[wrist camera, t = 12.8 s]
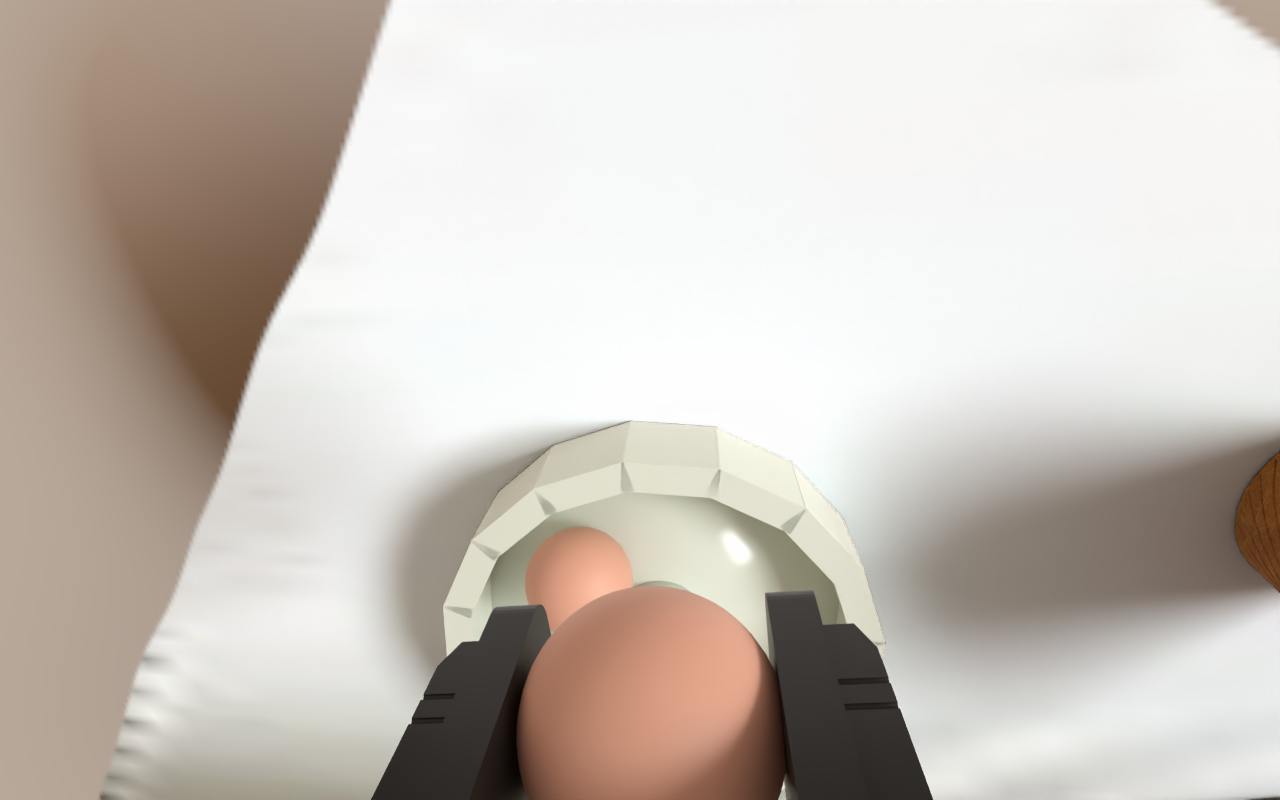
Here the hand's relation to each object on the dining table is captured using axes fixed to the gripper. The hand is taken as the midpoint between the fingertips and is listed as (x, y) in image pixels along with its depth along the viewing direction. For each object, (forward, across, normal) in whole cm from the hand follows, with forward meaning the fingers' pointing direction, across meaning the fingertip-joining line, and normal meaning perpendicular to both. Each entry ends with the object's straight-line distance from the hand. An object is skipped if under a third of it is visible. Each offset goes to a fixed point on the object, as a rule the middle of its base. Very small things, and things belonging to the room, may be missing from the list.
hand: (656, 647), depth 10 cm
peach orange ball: (0, 0, 0) cm, 0 cm away
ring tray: (+13, +2, +9) cm, 16 cm away
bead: (+12, +4, +5) cm, 13 cm away
